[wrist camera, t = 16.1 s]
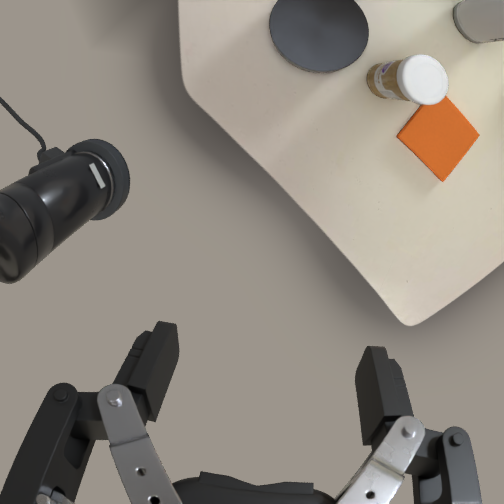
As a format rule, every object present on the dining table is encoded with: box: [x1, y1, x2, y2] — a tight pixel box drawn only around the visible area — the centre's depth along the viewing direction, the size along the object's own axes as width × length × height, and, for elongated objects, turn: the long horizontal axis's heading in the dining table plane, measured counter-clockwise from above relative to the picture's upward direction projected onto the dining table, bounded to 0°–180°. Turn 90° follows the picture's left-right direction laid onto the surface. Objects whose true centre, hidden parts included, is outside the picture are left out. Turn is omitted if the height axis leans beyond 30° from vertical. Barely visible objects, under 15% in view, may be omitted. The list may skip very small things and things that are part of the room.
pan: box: [269, 0, 369, 73], centre depth 27 cm, size 11×19×3 cm, turn 146°
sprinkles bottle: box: [367, 54, 449, 105], centre depth 26 cm, size 5×5×14 cm
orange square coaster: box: [397, 96, 479, 182], centre depth 34 cm, size 9×9×1 cm
